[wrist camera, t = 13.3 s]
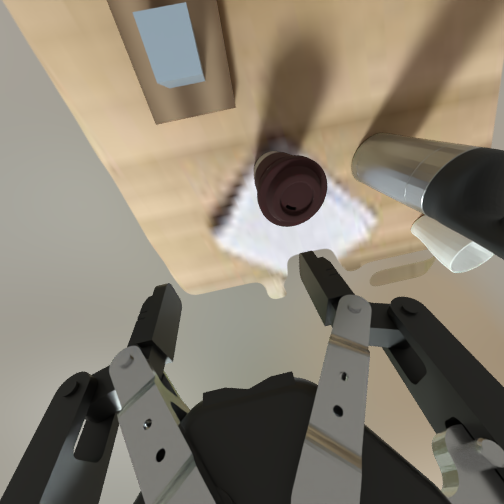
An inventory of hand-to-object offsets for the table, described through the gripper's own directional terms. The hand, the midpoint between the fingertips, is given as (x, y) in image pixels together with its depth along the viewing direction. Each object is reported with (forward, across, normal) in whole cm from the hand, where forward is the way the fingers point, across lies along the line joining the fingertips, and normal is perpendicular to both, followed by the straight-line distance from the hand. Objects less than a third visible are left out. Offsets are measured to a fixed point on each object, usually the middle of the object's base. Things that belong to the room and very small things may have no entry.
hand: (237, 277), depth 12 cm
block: (+27, +2, -14) cm, 31 cm away
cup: (+30, -48, +25) cm, 62 cm away
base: (+30, +2, -14) cm, 33 cm away
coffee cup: (+30, -9, +3) cm, 32 cm away
